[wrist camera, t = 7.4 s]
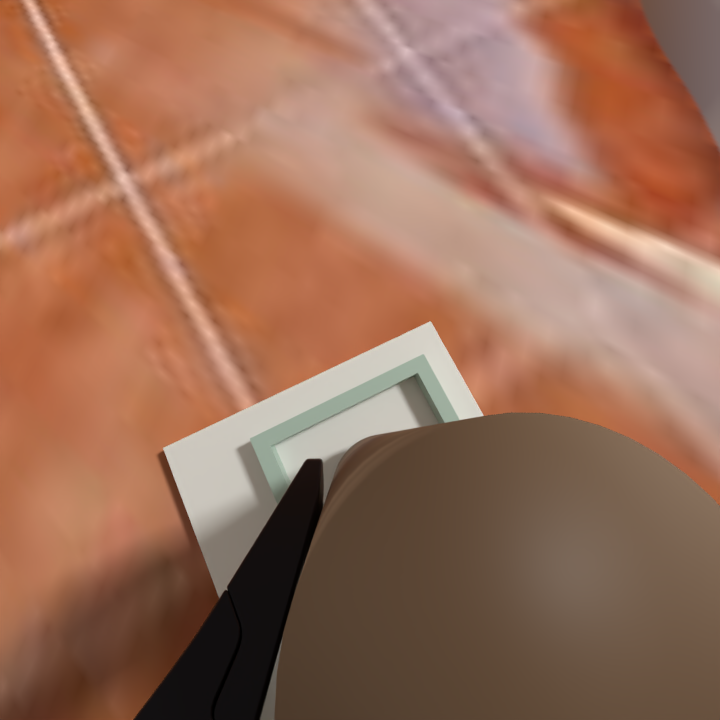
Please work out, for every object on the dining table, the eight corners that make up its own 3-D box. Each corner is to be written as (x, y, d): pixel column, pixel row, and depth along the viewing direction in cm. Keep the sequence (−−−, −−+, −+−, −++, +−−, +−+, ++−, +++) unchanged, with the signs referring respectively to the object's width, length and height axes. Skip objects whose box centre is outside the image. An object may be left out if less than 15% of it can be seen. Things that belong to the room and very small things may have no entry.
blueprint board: (373, 988, 13) (377, 1062, 12) (169, 447, 17) (151, 448, 15) (672, 763, 15) (710, 801, 14) (428, 324, 19) (435, 314, 17)
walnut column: (391, 572, 14) (645, 1300, 2) (309, 493, 15) (152, 729, 3) (459, 483, 15) (908, 655, 3) (380, 412, 16) (496, 320, 4)
